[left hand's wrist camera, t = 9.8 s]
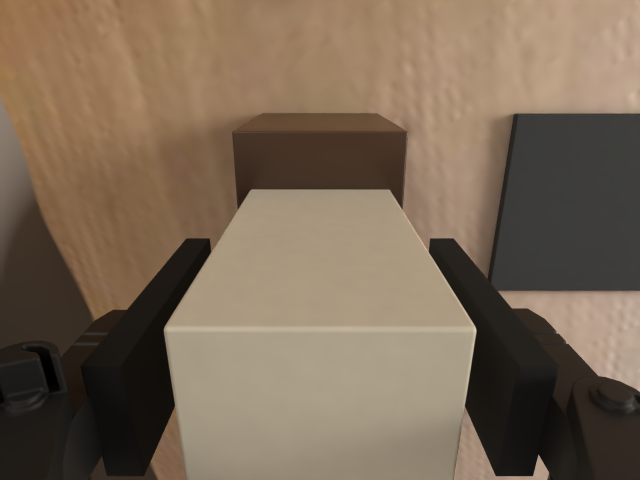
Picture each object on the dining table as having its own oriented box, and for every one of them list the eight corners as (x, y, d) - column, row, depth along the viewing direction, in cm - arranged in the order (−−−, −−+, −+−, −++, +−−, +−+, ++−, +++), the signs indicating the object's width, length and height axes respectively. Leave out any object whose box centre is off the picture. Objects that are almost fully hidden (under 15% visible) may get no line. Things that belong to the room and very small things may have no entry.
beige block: (250, 188, 15) (160, 328, 7) (390, 188, 15) (479, 328, 7) (257, 311, 17) (194, 543, 8) (382, 311, 17) (445, 544, 8)
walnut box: (262, 113, 22) (231, 131, 14) (378, 113, 22) (408, 131, 14) (279, 481, 31) (266, 608, 24) (360, 481, 31) (373, 608, 24)
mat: (513, 113, 22) (517, 114, 21) (707, 113, 22) (716, 114, 21) (486, 286, 25) (489, 290, 25) (652, 286, 25) (659, 290, 25)
